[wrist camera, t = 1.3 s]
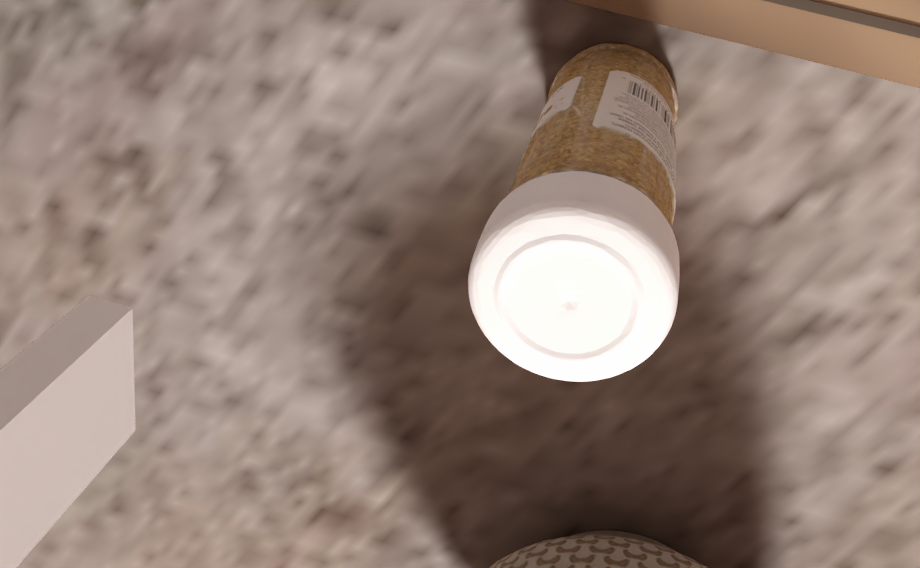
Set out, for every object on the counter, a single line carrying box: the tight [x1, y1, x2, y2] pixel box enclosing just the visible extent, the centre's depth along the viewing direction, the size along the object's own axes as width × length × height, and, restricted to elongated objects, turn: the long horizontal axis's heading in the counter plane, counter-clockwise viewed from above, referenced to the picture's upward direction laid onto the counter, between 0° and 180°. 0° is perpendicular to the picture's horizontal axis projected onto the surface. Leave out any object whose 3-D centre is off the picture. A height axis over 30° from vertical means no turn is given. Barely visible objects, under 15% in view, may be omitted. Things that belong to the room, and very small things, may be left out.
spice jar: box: [468, 43, 680, 382], centre depth 23 cm, size 5×5×13 cm
